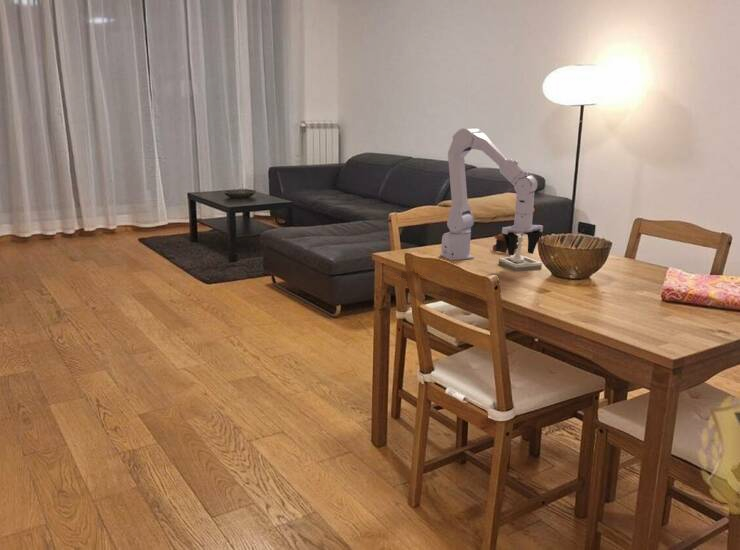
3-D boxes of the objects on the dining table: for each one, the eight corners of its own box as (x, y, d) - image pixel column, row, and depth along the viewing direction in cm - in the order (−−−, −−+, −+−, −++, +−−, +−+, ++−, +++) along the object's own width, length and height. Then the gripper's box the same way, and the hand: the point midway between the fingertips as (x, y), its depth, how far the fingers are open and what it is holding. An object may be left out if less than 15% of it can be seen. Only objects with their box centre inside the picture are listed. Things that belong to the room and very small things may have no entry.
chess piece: (518, 263, 217) (523, 235, 212) (506, 258, 220) (511, 230, 215) (527, 260, 220) (533, 233, 215) (515, 255, 223) (520, 228, 218)
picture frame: (515, 271, 212) (515, 265, 211) (498, 263, 220) (499, 258, 220) (541, 268, 215) (541, 262, 215) (523, 261, 224) (524, 255, 224)
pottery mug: (485, 250, 242) (491, 230, 243) (504, 260, 245) (511, 239, 247) (505, 249, 231) (512, 227, 232) (525, 259, 235) (532, 237, 236)
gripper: (511, 216, 207) (508, 258, 211) (550, 214, 212) (546, 254, 216) (499, 212, 213) (496, 253, 217) (537, 210, 218) (533, 250, 222)
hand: (520, 253), depth 217 cm, fingers open, 7 cm apart
